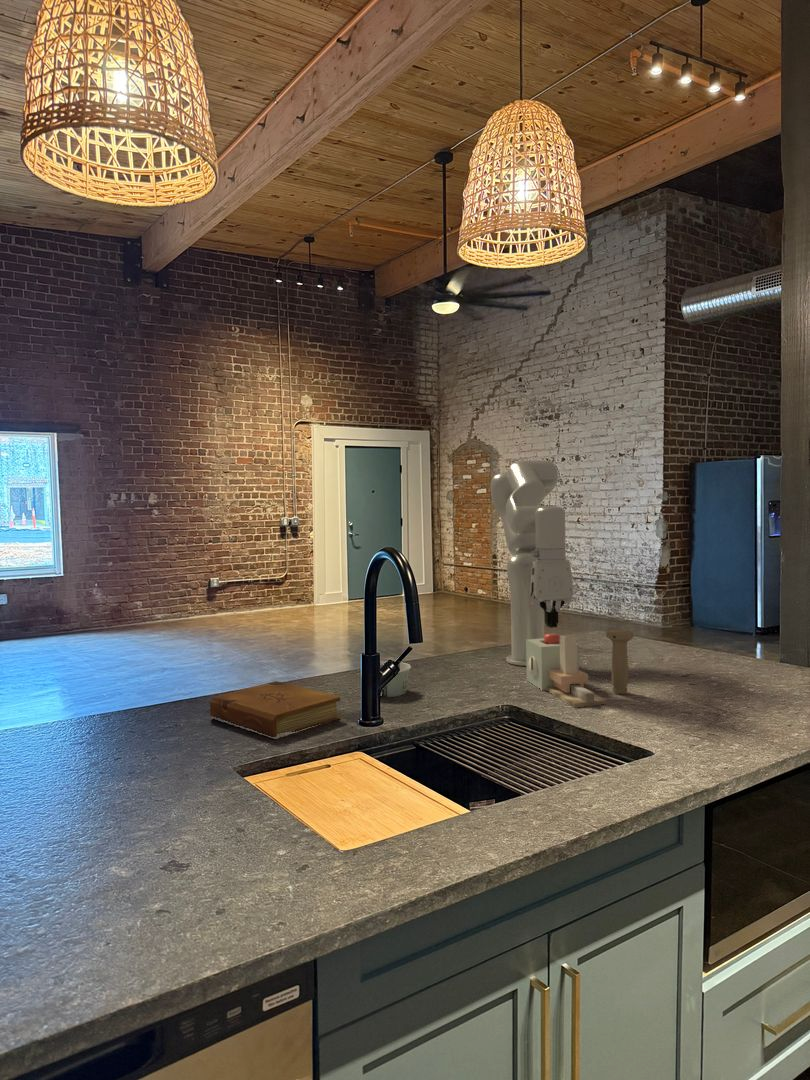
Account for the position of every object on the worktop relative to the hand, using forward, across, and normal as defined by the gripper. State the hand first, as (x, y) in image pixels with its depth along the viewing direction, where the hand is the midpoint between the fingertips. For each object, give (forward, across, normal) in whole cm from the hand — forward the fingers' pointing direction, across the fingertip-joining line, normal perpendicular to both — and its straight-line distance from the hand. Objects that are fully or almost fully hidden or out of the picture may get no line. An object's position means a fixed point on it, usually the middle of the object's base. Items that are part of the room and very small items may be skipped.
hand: (551, 626), depth 192 cm
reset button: (+5, 0, 0) cm, 5 cm away
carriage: (+14, 0, -10) cm, 17 cm away
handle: (+15, +12, -13) cm, 23 cm away
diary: (+16, -71, -9) cm, 73 cm away
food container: (+15, -42, +6) cm, 45 cm away
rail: (+15, 0, -13) cm, 20 cm away
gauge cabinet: (+15, 0, 0) cm, 15 cm away
